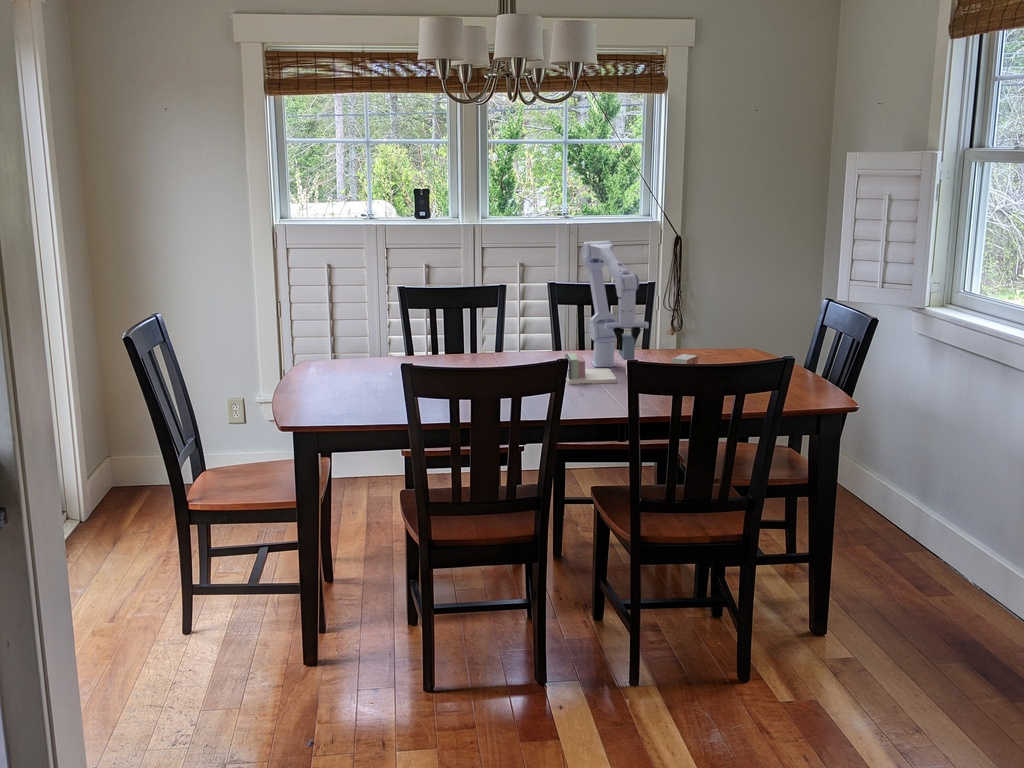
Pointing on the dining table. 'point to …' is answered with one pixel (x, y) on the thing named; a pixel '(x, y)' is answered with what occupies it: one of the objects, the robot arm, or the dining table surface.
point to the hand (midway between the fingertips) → (626, 349)
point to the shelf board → (595, 377)
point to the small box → (685, 359)
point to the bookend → (569, 366)
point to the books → (577, 366)
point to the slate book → (627, 347)
